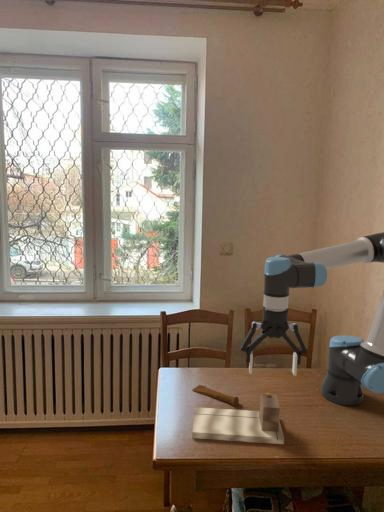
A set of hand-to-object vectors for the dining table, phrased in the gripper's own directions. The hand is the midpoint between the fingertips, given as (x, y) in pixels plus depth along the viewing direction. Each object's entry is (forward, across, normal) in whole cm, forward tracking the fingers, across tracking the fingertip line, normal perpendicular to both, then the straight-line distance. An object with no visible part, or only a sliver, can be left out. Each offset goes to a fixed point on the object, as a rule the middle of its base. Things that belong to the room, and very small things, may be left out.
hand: (272, 372), depth 121 cm
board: (+19, +11, 0) cm, 22 cm away
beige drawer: (+17, 0, 0) cm, 17 cm away
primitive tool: (+20, +18, -18) cm, 33 cm away
